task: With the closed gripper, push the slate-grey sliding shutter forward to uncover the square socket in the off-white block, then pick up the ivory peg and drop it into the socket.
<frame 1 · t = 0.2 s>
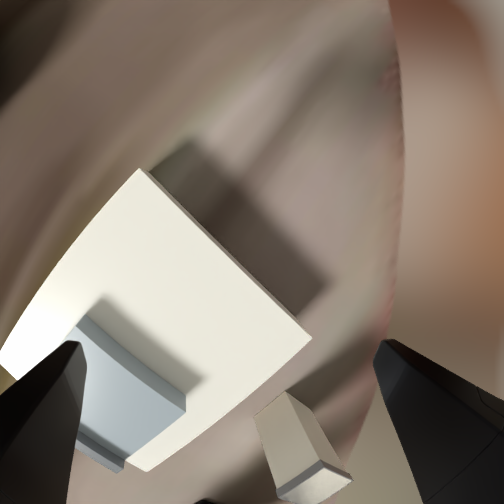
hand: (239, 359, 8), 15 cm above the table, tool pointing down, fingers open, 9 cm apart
peg: (282, 413, 27), on the table
shutter: (98, 403, 18), point 6 cm above the table, slide at 0.0 cm
socket block: (141, 334, 23), on the table
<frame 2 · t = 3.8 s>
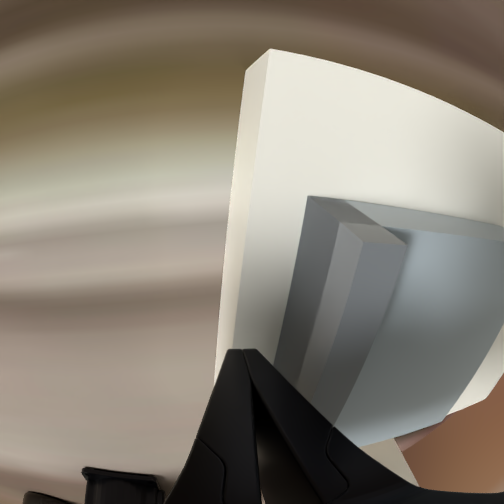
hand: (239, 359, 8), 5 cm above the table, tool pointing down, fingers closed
peg: (354, 439, 21), on the table
shutter: (411, 358, 9), point 6 cm above the table, slide at 0.2 cm, touching gripper
socket block: (410, 278, 15), on the table
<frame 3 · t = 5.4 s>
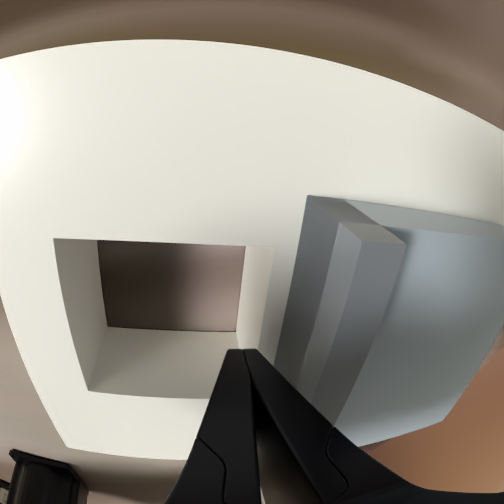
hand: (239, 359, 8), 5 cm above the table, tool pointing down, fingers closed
ink bottle: (10, 489, 22), on the table
shutter: (411, 357, 9), point 6 cm above the table, slide at 7.9 cm, touching gripper
socket block: (266, 275, 13), on the table
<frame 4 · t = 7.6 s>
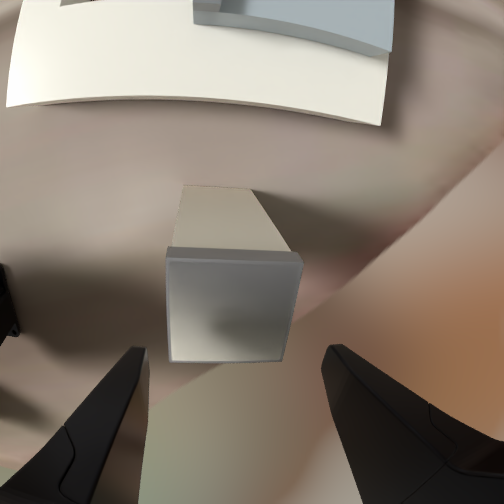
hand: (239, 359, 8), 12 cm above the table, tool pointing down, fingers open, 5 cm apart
peg: (214, 219, 19), on the table
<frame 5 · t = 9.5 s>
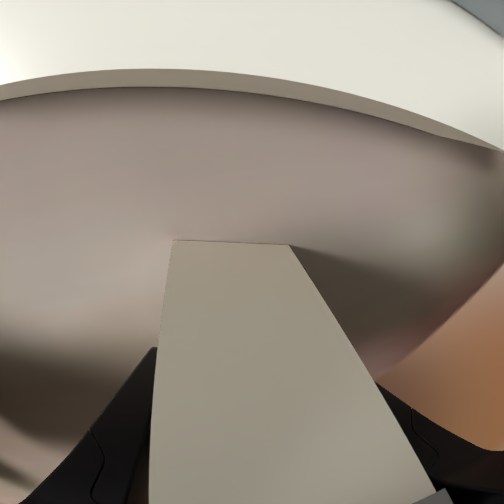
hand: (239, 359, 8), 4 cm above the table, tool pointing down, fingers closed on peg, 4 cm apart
peg: (227, 292, 12), on the table, touching gripper
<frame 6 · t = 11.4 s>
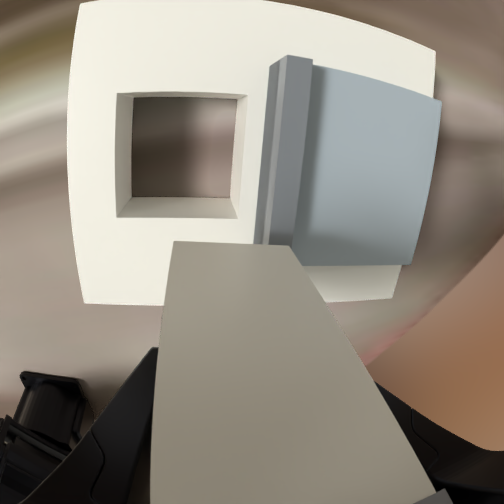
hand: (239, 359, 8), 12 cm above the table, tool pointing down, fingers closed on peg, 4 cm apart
peg: (227, 293, 12), point 9 cm above the table, touching gripper
shutter: (357, 172, 14), point 6 cm above the table, slide at 8.1 cm
socket block: (250, 150, 18), on the table
when the fingers open (5 cm above the table, at t = 13.6 s): peg drops 2 cm, resting in socket block.
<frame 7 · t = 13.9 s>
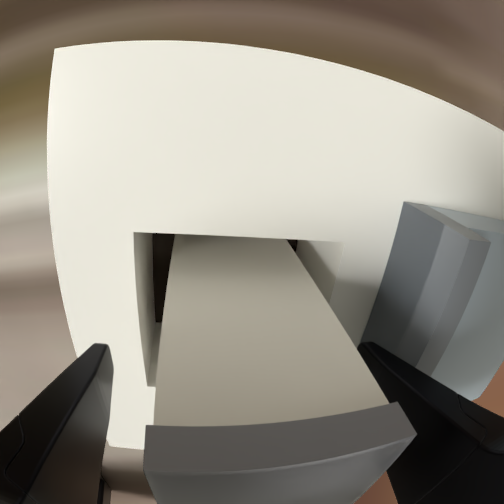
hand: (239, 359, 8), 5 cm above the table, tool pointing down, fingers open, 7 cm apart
peg: (224, 267, 13), resting in socket block
shutter: (466, 336, 10), point 6 cm above the table, slide at 9.0 cm, touching gripper
socket block: (313, 270, 14), on the table
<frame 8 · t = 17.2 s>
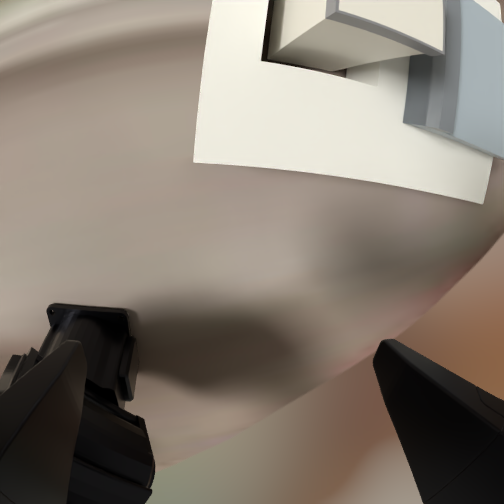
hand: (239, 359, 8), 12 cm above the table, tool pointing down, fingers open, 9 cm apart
peg: (303, 35, 15), resting in socket block
shutter: (479, 72, 12), point 6 cm above the table, slide at 9.0 cm
socket block: (363, 51, 16), on the table
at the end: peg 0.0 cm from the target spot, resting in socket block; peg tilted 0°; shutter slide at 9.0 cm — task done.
